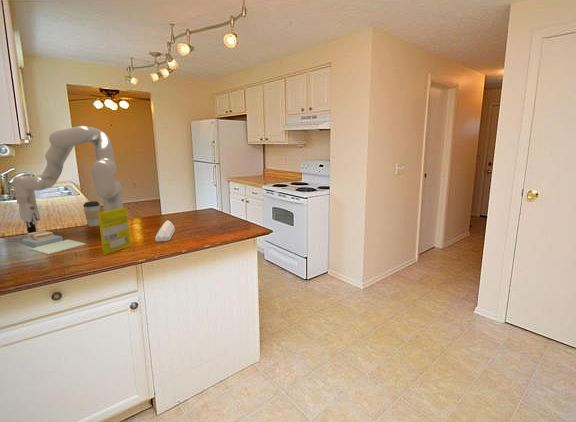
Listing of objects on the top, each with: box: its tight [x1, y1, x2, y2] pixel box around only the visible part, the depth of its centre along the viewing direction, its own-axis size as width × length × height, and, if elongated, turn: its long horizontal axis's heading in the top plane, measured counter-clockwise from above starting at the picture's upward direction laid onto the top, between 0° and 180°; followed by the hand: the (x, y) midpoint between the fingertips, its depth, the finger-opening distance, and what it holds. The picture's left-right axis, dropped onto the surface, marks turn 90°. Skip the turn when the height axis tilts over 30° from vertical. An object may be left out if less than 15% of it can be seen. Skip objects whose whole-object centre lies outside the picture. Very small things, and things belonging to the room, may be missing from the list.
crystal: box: [154, 220, 176, 243], centre depth 172 cm, size 7×7×24 cm
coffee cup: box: [83, 200, 101, 227], centre depth 195 cm, size 9×9×15 cm
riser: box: [21, 234, 64, 248], centre depth 159 cm, size 14×12×2 cm
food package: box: [98, 206, 132, 256], centre depth 146 cm, size 15×1×20 cm, turn 159°
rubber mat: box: [30, 239, 87, 255], centre depth 153 cm, size 16×17×1 cm
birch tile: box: [27, 230, 55, 241], centre depth 159 cm, size 10×7×2 cm
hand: (32, 233), depth 163 cm, fingers closed
